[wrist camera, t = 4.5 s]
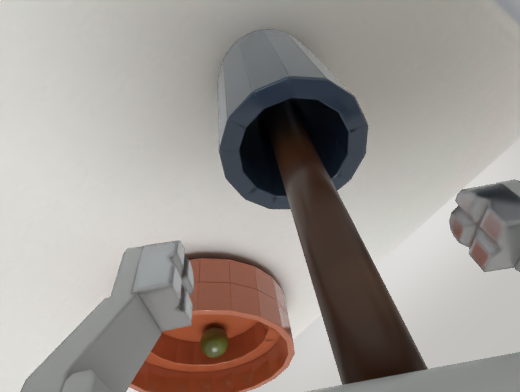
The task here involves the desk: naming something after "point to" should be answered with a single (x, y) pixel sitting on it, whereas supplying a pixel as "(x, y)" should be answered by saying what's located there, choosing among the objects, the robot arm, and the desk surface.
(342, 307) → the stick
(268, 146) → the crock
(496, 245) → the robot arm
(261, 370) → the bowl
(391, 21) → the desk surface
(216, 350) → the bead
